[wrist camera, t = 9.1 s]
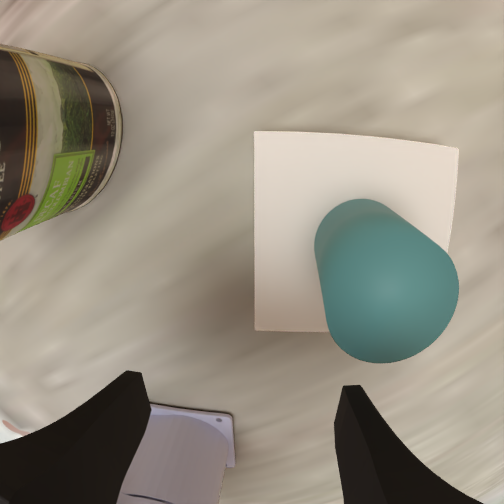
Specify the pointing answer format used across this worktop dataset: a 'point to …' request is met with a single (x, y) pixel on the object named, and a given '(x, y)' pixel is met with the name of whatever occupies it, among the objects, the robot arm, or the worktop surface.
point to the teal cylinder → (382, 282)
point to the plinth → (328, 197)
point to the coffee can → (52, 136)
